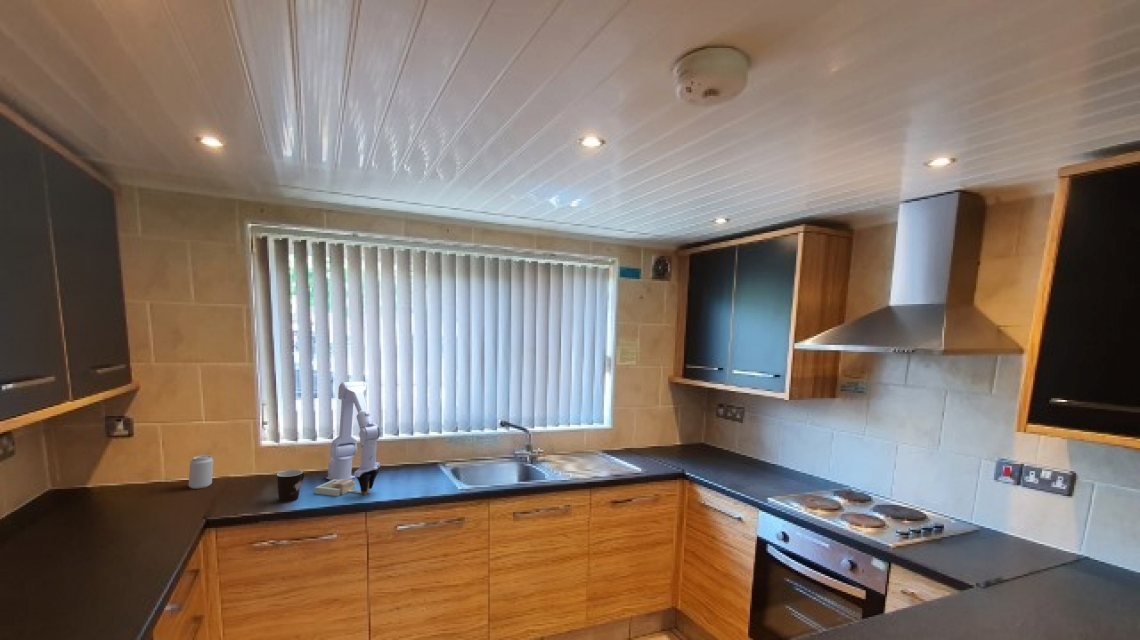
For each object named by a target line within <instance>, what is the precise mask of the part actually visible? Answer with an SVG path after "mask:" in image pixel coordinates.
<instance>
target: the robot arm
mask: <svg viewBox="0 0 1140 640" xmlns="http://www.w3.org/2000/svg"><path fill="white" fill-rule="evenodd" d="M337 394H338V395H337V397H338V400H341V407H340V408H341V409H340V419H339V421H340V422H339V433H338V436H337V437H336V438H334V439H332V440H331V445H330V448H329V456H330V457H331V459H330V460H329V462H328V468H327V469H328V470H327V476H326V478H325V479H327V480H329V481H331V480H333V479H335V480H341V479H350V480H353V479H355V478H356V479H357V481H358V483H359V484H358V485H359V487H360V491H363V492H366V491H367V488H368V482H369V481H370V482H369V490H371V489H373V485H374V482H375V480H376V478H377V475H378V474H379V471H380V470H379V469H378V468H381V462H377V461H376V460H377V444H378V443H377V442H378V440H379V438H380V436H381V431H380V430H381V429H380V425H378V424H377V422H376V423H375V420H374V417H373V415H372V412H371V411H370V410H368V407H367V403H366V398H365V396H366V394H367V384H366V382H365V381H363V380H361V381H346V382H345V381H341V382H340V384H339V386H338V393H337ZM354 406H355V409H356V411H357V414H356V421H357V423H358V426H359V432H358V433H359V434H358V435H359V444H360V448H361V449H360V463H359V467H358V468H357V469H356V471H354V472H353V473H354V474H353V475H352V470H353V459H354V457H355V456H356V455H357V453H358V445H357V439H356V438H355V437H354V436H352V430H353V419H354V417H353V416H354Z"/></svg>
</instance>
